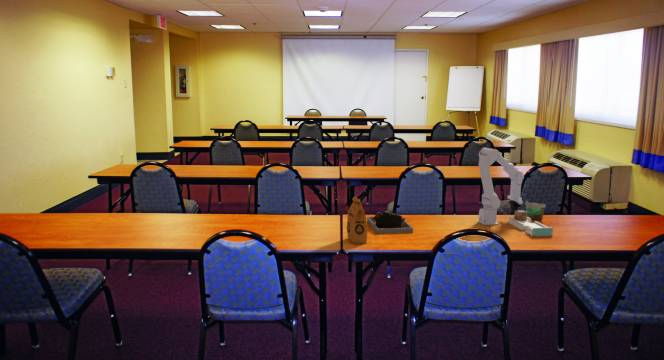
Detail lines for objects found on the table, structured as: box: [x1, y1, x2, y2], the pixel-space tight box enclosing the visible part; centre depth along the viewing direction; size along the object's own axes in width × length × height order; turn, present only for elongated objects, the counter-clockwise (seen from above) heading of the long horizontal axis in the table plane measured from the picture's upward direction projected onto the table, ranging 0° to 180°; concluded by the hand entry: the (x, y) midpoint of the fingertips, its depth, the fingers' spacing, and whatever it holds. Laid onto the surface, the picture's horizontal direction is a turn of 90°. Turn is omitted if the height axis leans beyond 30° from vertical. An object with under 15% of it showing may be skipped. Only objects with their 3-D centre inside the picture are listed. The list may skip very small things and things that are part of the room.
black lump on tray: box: [373, 210, 406, 229], centre depth 287 cm, size 18×12×10 cm
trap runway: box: [508, 216, 554, 237], centre depth 285 cm, size 11×27×4 cm, turn 8°
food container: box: [524, 200, 547, 221], centre depth 306 cm, size 12×6×10 cm, turn 42°
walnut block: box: [513, 209, 527, 221], centre depth 295 cm, size 5×5×5 cm
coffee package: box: [346, 196, 368, 245], centre depth 260 cm, size 10×12×22 cm
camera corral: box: [366, 216, 414, 235], centre depth 289 cm, size 20×26×2 cm
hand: (513, 213), depth 303 cm, fingers closed
